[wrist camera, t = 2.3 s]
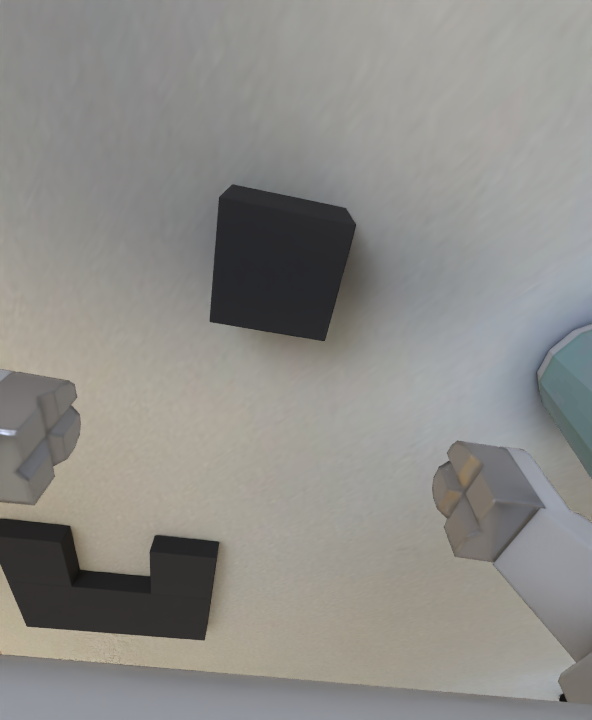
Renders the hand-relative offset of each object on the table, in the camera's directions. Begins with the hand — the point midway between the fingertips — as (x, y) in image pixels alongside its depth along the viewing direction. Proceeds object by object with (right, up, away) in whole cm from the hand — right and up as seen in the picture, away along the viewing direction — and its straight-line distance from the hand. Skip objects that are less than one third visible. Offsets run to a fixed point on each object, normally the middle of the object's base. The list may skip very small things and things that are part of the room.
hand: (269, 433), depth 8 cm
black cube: (0, +7, +11) cm, 13 cm away
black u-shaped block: (-17, -20, +28) cm, 38 cm away
